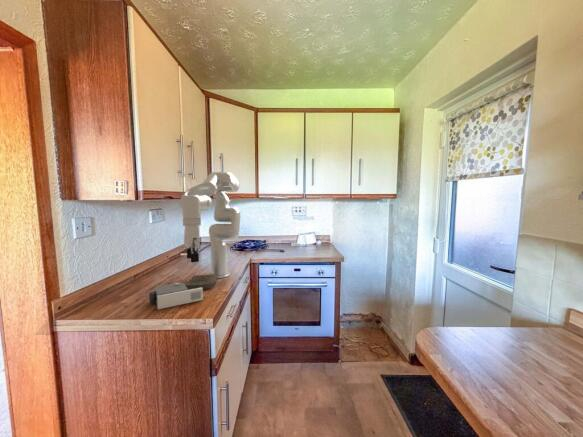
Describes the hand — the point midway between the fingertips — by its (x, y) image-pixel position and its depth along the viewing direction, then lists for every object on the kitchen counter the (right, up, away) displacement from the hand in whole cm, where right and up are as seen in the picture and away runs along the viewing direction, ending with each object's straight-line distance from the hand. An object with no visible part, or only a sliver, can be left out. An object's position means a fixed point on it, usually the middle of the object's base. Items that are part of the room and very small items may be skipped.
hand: (192, 259), depth 111 cm
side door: (-2, -18, -6) cm, 19 cm away
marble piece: (-3, -18, +18) cm, 26 cm away
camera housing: (-10, -18, -3) cm, 21 cm away
